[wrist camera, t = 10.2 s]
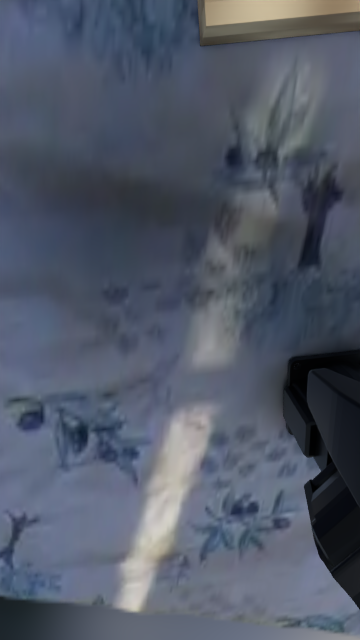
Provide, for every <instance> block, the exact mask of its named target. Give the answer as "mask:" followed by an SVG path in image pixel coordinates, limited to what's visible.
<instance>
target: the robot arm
mask: <svg viewBox="0 0 360 640" xmlns="http://www.w3.org/2000/svg"><path fill="white" fill-rule="evenodd" d="M297 363H299V365H298V366H296V367H294V365H295V364H297ZM283 416H284V418H285V420H286V428H287V430H288V432H289V433H290V434H291V435H294V437H295V439H296V441H297V443H298V445H299V447H300V448H301V450H302V452H303V454H304V455H305V456H306V457H308V458H309V457H313V458H314V459H315V461H316V463H317V465H318V466H319V468H320V470H321V472H320V473H319V474H318V475H317V476H316V477H315V478H314V479H313V480H309V481H308V482H307V483H306V484H305V485H304V489H305V494H306V499H307V505H308V510H309V515H310V520H311V526H312V531H313V536H314V541H315V544H316V547H317V550H318V554H319V556H320V558H321V560H322V561H323V562H324V563H325V565H326V567H327V568H328V570H329V571H330V573H331V574H332V576H333V578H334V579H335V580H336V581H337V582H338V583H339V585H340V586H341V587H342V588H343V589H344V590H345V591H346V593H347V594H348V595H349V596H350V597H351V598H352V600H353V601H354V602H355V604H356V605H357V606H358V608H359V609H360V350H358V351H349V352H340V353H331V354H322V355H314V356H305V357H296V358H293V359H291V360H290V361H289V363H288V386H286V387H285V389H284V409H283Z"/></svg>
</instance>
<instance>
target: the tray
mask: <svg viewBox="0 0 360 640" xmlns="http://www.w3.org/2000/svg"><path fill="white" fill-rule="evenodd" d="M198 14H199V31H200V46H206V45H216V44H226V43H237V42H247V41H257V40H267V39H277V38H288V37H298V36H308V35H318V34H328V33H338V32H349V31H359V30H360V0H198Z"/></svg>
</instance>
